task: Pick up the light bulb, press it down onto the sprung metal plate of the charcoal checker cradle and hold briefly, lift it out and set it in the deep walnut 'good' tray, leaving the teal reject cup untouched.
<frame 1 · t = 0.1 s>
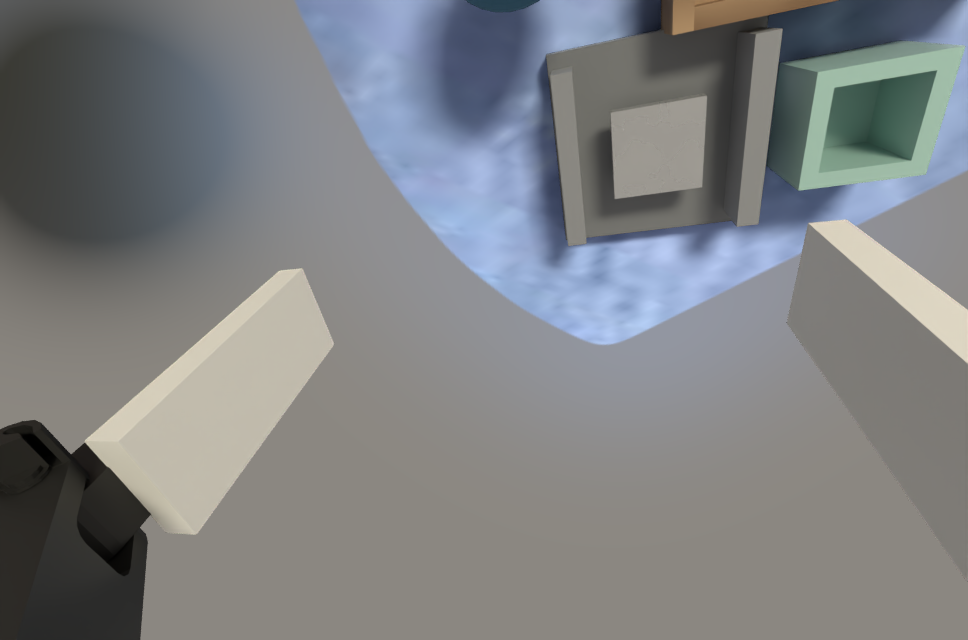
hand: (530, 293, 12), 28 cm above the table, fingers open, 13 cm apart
checker plate: (656, 149, 32), point 4 cm above the table, slide at 0.2 cm
checker cradle: (649, 137, 35), on the table
reject cup: (827, 108, 32), on the table
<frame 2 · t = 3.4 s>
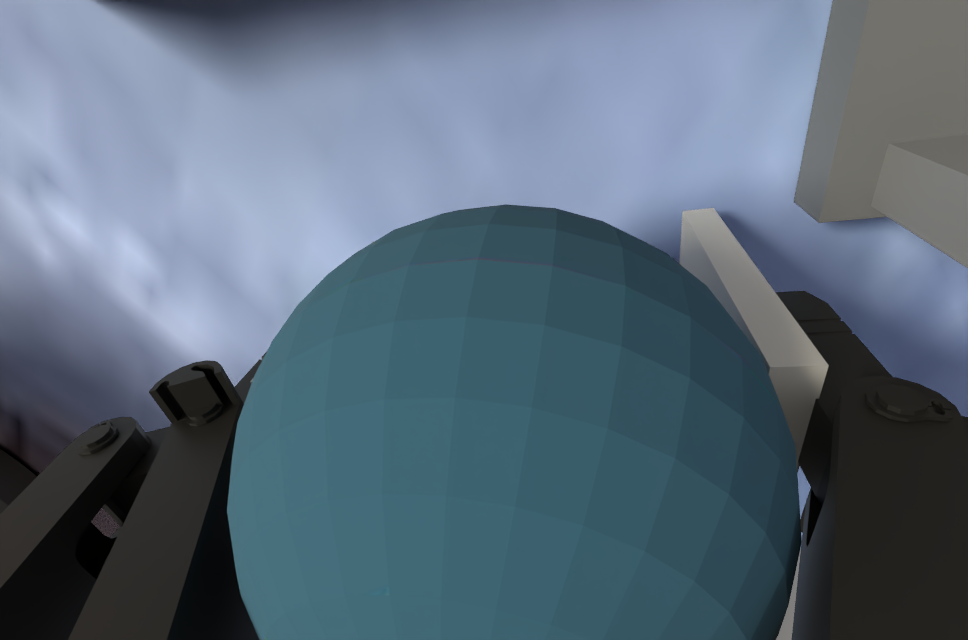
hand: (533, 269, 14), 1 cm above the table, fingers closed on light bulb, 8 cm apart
light bulb: (536, 254, 14), on the table, touching gripper
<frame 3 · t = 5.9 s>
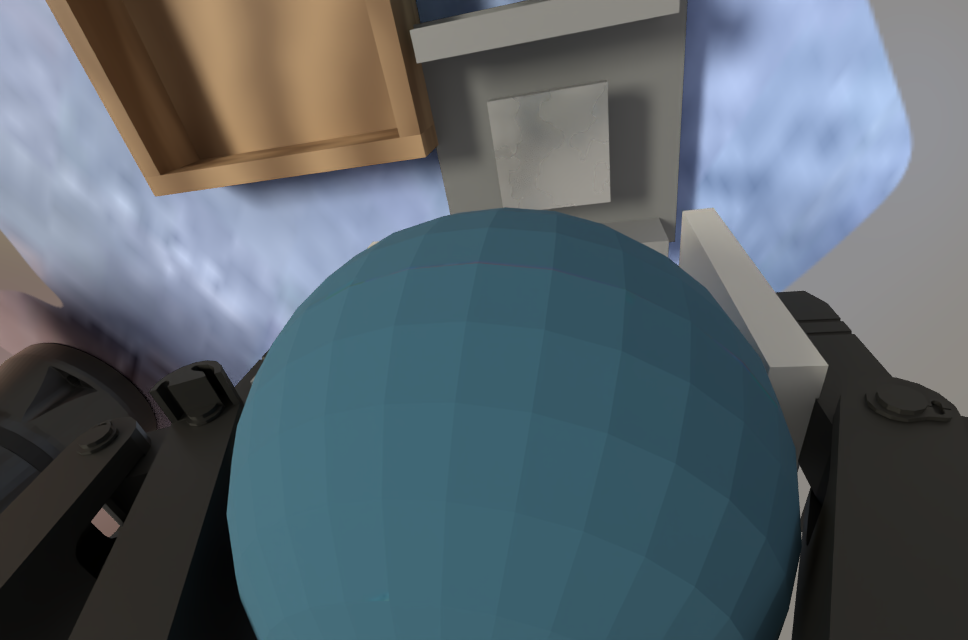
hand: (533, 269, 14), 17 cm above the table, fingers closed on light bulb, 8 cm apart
light bulb: (536, 256, 14), point 16 cm above the table, touching gripper
checker plate: (551, 151, 25), point 4 cm above the table, slide at 0.2 cm
checker cradle: (553, 136, 28), on the table
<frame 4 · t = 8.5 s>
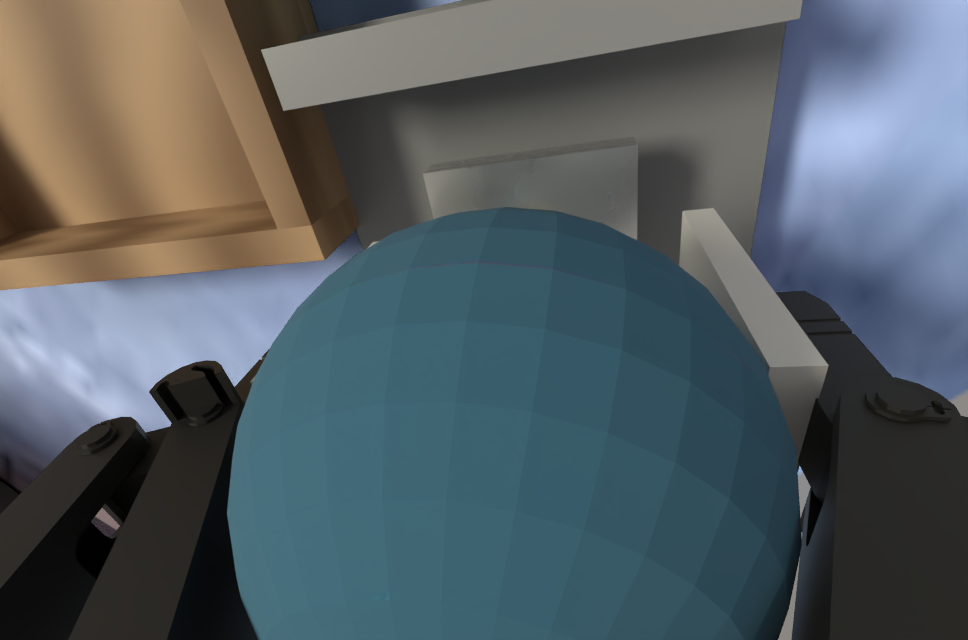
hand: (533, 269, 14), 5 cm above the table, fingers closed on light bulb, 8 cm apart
light bulb: (536, 255, 14), point 4 cm above the table, touching checker plate, gripper
checker plate: (537, 250, 15), point 3 cm above the table, slide at 0.5 cm, touching light bulb
checker cradle: (543, 212, 18), on the table
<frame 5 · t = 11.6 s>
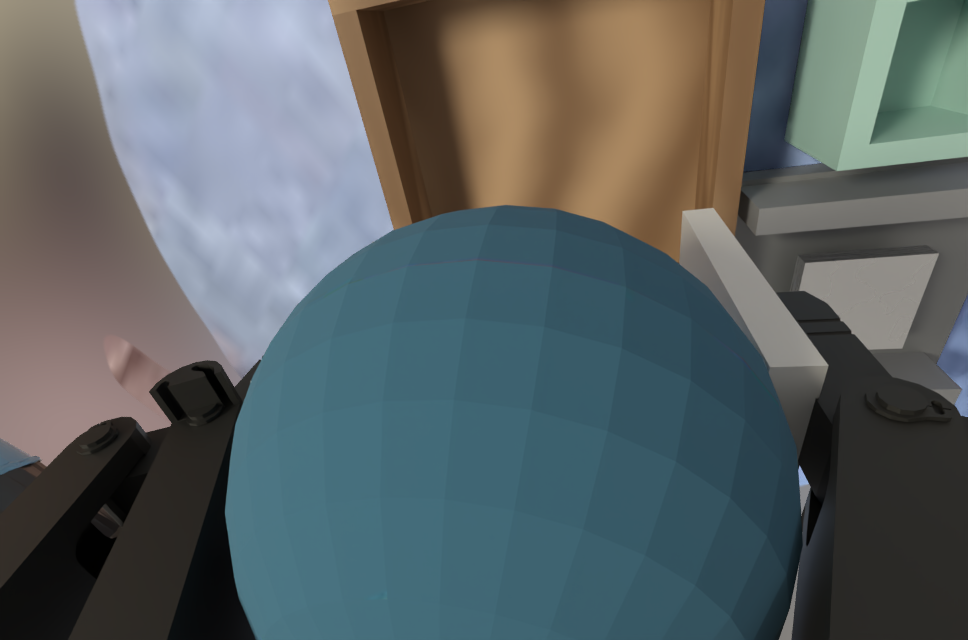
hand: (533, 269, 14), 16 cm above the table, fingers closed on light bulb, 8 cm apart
light bulb: (536, 255, 14), point 15 cm above the table, touching gripper
checker plate: (850, 302, 26), point 4 cm above the table, slide at 0.5 cm
checker cradle: (822, 273, 29), on the table
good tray: (551, 144, 27), on the table
reject cup: (876, 55, 22), on the table
when the fingers open (4 cm above the table, at t = 14.1 s): light bulb drops 2 cm, resting on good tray.
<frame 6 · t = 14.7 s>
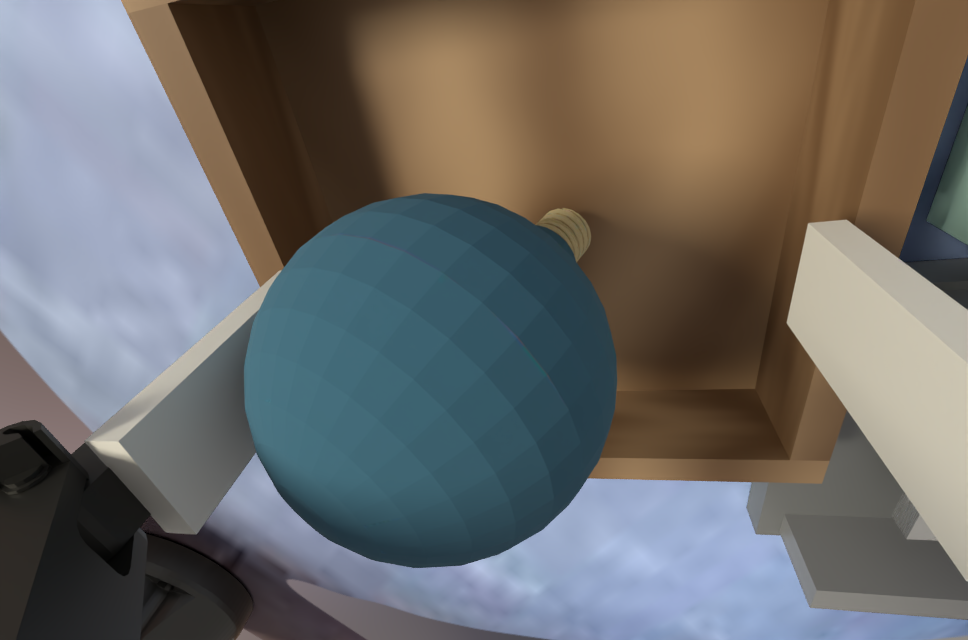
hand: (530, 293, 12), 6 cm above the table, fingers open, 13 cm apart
light bulb: (574, 223, 16), point 1 cm above the table, touching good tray, gripper
checker cradle: (957, 408, 19), on the table
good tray: (542, 217, 17), on the table
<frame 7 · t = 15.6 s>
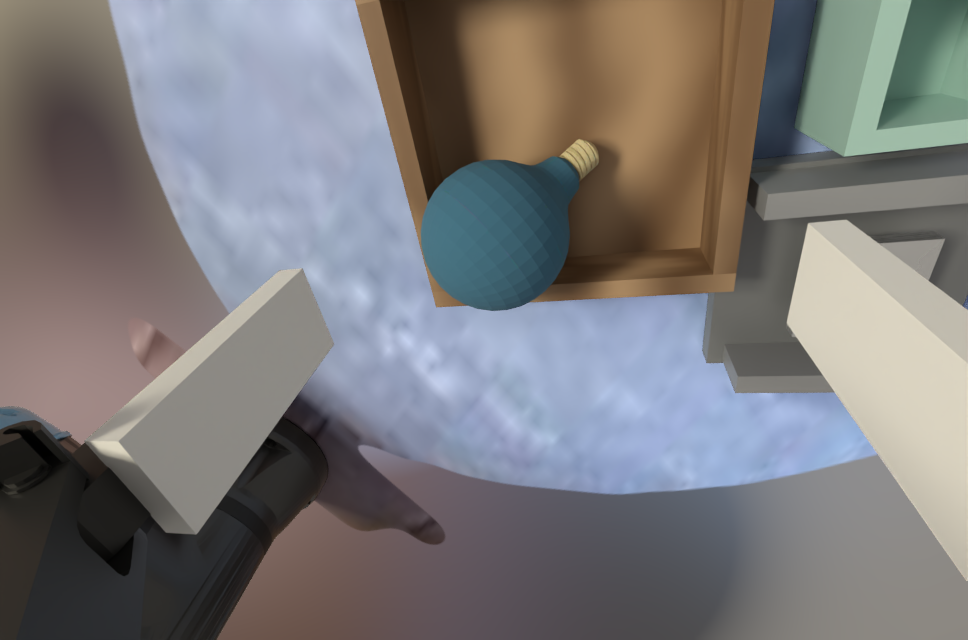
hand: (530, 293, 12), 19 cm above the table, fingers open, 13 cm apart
light bulb: (596, 144, 26), point 1 cm above the table, touching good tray
checker plate: (857, 287, 26), point 4 cm above the table, slide at 0.5 cm
checker cradle: (830, 260, 29), on the table
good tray: (565, 131, 28), on the table
reject cup: (886, 44, 23), on the table
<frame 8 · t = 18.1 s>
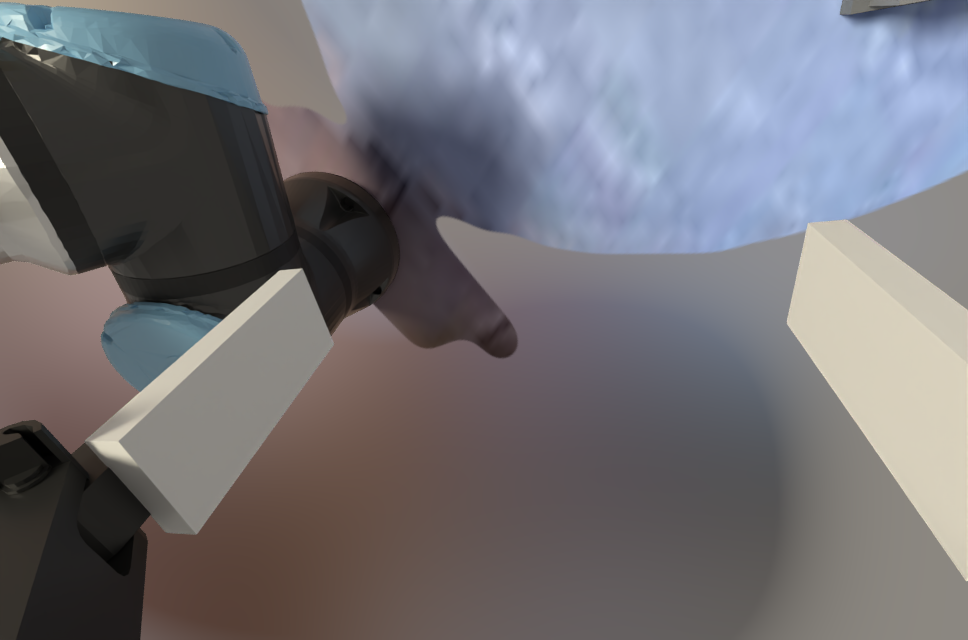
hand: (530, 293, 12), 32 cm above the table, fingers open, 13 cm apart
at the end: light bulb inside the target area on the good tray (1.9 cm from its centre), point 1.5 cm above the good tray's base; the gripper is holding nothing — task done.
